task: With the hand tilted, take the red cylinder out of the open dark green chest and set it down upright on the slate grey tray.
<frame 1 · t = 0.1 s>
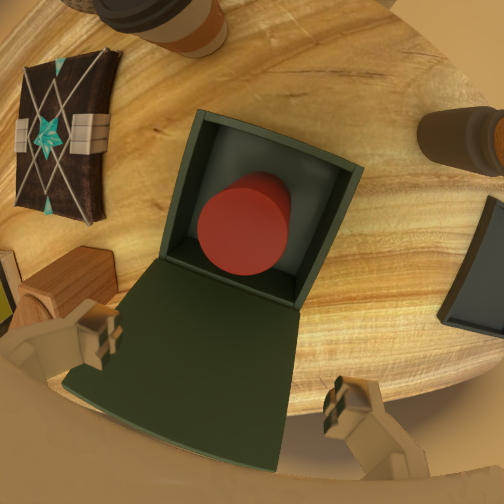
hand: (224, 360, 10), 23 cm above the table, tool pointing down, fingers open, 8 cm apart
decorative item: (99, 268, 38), on the table
chest lid: (195, 363, 22), point 15 cm above the table, hinge at 100.0°
bottle: (438, 137, 26), on the table
book: (65, 134, 32), on the table
coffee cup: (201, 34, 25), on the table
tea box: (12, 284, 44), on the table
red cylinder: (260, 201, 31), point 1 cm above the table, touching chest
tray: (499, 273, 29), on the table
chest: (261, 200, 31), on the table
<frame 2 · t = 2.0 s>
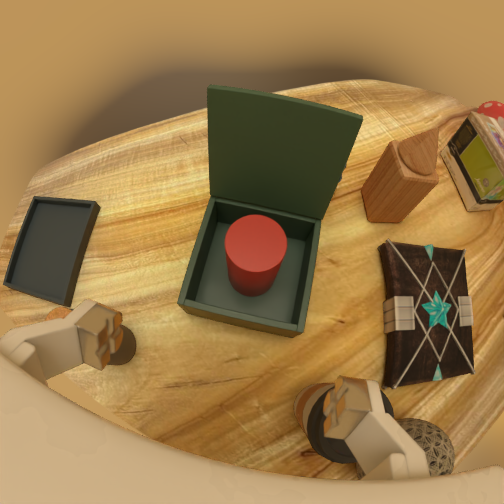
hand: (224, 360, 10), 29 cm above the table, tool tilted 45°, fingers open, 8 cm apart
decorative mushroom: (480, 145, 57), on the table
decorative item: (379, 206, 47), on the table
chest lid: (277, 148, 32), point 15 cm above the table, hinge at 100.0°
bottle: (118, 344, 37), on the table
book: (424, 315, 40), on the table
coffee cup: (315, 405, 35), on the table
tea box: (465, 182, 51), on the table
decorative egg: (379, 449, 32), on the table
red cylinder: (251, 273, 40), point 1 cm above the table, touching chest
tray: (50, 248, 41), on the table
chest: (251, 275, 41), on the table
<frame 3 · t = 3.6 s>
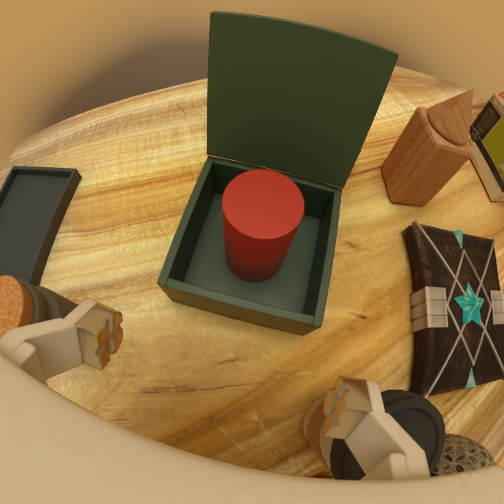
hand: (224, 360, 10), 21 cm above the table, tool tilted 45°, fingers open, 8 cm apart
decorative item: (401, 187, 39), on the table
chest lid: (291, 95, 24), point 15 cm above the table, hinge at 100.0°
bottle: (87, 336, 29), on the table
book: (454, 312, 32), on the table
coffee cup: (329, 420, 27), on the table
tea box: (487, 171, 44), on the table
decorative egg: (401, 470, 24), on the table
red cylinder: (254, 254, 33), point 1 cm above the table, touching chest
tray: (23, 222, 33), on the table
chest: (253, 257, 33), on the table
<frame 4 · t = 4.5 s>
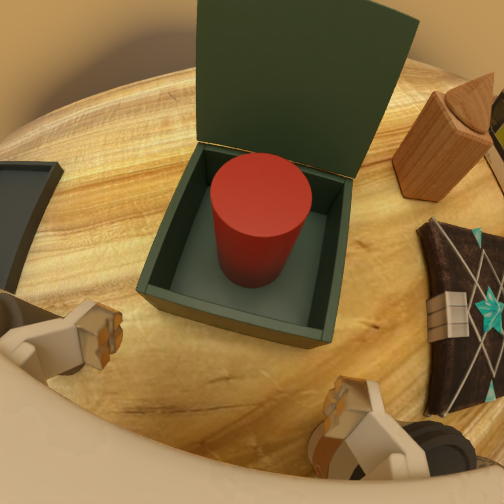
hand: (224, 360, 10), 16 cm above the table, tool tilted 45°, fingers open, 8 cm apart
decorative item: (414, 181, 35), on the table
chest lid: (294, 69, 20), point 15 cm above the table, hinge at 100.0°
bottle: (65, 347, 24), on the table
book: (472, 318, 28), on the table
coffee cup: (337, 443, 23), on the table
tea box: (499, 166, 39), on the table
red cylinder: (251, 255, 28), point 1 cm above the table, touching chest
tray: (3, 221, 29), on the table
chest: (251, 258, 29), on the table
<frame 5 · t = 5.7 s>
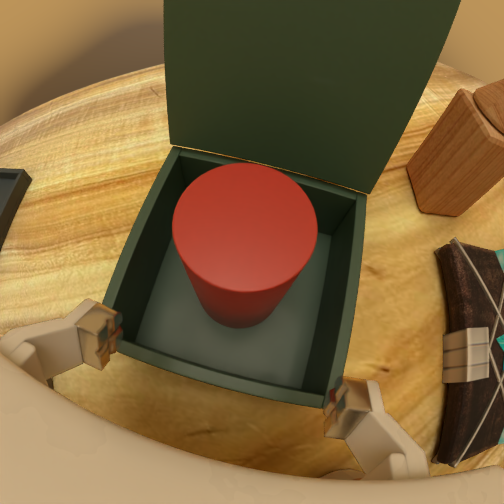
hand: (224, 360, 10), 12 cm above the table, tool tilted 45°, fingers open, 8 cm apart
decorative item: (431, 192, 30), on the table
chest lid: (295, 51, 14), point 15 cm above the table, hinge at 100.0°
book: (490, 351, 23), on the table
coffee cup: (335, 497, 17), on the table
red cylinder: (238, 287, 23), point 1 cm above the table, touching chest
chest: (238, 290, 24), on the table
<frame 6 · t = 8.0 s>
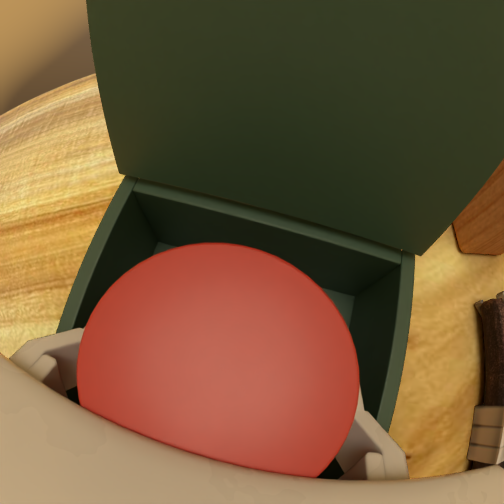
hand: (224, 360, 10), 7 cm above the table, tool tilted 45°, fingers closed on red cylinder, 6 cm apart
decorative item: (471, 224, 22), on the table
chest lid: (317, 16, 7), point 15 cm above the table, hinge at 100.0°
red cylinder: (225, 373, 16), point 1 cm above the table, touching chest, gripper
chest: (226, 373, 16), on the table
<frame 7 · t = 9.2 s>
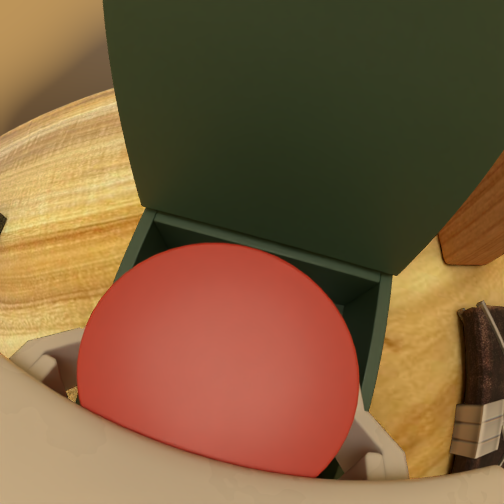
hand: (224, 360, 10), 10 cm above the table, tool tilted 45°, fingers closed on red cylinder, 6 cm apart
decorative item: (457, 237, 25), on the table
chest lid: (309, 83, 10), point 15 cm above the table, hinge at 100.0°
book: (502, 411, 18), on the table
red cylinder: (225, 373, 16), point 4 cm above the table, touching gripper
chest: (232, 371, 19), on the table
when the fingers open (7 cm above the table, at t = 19.6 s): red cylinder stays where it is, resting on tray.
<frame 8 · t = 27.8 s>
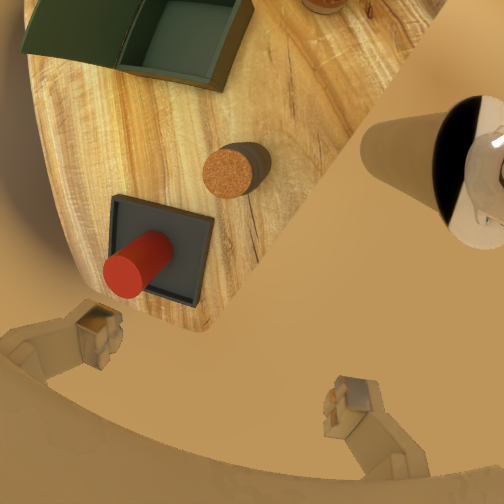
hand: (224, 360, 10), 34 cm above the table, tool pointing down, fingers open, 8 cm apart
chest lid: (81, 8, 21), point 15 cm above the table, hinge at 100.0°
bottle: (251, 162, 41), on the table
red cylinder: (155, 248, 47), point 1 cm above the table, touching tray
tray: (157, 248, 47), on the table
chest: (192, 40, 34), on the table
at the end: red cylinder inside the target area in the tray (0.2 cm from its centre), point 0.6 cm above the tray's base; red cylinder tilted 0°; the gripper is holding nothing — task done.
